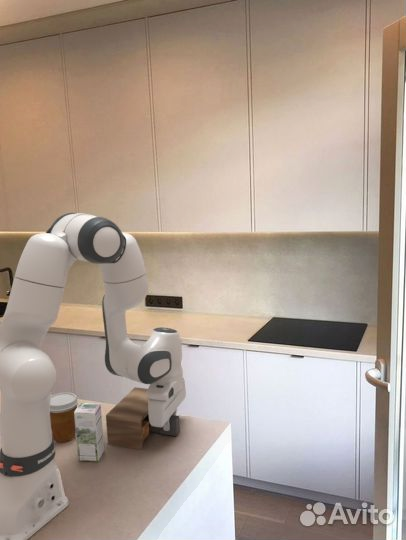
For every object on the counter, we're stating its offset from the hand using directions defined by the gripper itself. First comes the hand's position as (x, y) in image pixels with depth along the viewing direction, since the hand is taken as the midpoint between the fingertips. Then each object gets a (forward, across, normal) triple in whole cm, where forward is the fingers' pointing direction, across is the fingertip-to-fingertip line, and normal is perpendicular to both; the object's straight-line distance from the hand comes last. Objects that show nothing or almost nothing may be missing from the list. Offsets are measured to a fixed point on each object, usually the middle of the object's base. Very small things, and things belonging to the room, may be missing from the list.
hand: (169, 426), depth 143 cm
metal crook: (+2, +2, -5) cm, 6 cm away
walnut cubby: (+2, 0, -10) cm, 10 cm away
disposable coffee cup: (+3, +10, -30) cm, 31 cm away
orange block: (+2, +4, -8) cm, 9 cm away
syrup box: (+3, +16, -17) cm, 24 cm away
